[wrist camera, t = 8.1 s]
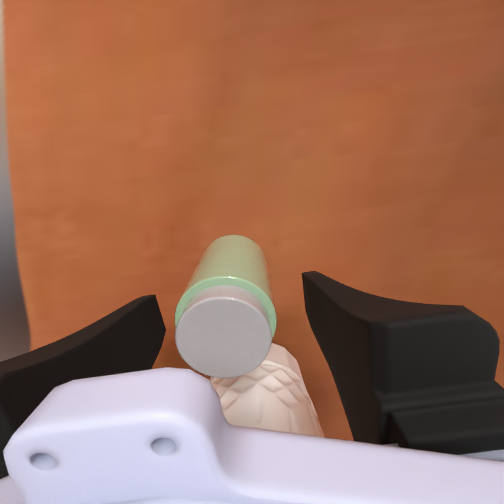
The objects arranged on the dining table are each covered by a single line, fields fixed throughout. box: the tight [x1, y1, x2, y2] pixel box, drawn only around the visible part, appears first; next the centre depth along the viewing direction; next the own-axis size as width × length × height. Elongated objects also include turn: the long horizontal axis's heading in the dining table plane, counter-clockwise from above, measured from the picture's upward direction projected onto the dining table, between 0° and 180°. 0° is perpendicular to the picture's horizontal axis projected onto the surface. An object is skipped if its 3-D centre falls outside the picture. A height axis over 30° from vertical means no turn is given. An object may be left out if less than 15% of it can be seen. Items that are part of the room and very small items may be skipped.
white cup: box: [210, 343, 325, 437], centre depth 15 cm, size 8×8×10 cm
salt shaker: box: [175, 235, 277, 378], centre depth 13 cm, size 4×4×8 cm
